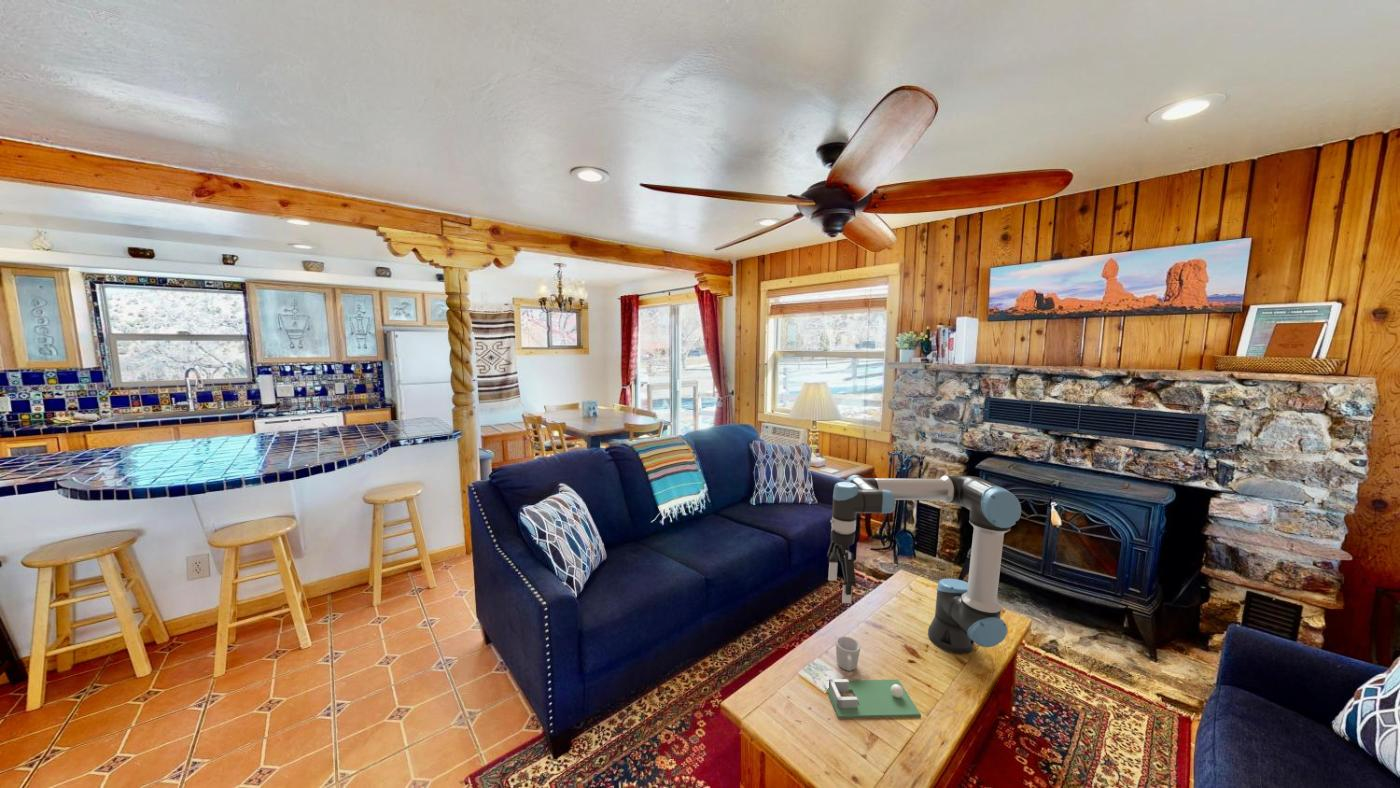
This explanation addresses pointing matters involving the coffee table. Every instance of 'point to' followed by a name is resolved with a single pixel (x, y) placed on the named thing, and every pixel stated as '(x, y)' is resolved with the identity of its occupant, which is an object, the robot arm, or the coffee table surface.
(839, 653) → the cup
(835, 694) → the white u-shaped bracket
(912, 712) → the green mat
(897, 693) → the ball
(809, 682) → the coffee table surface
